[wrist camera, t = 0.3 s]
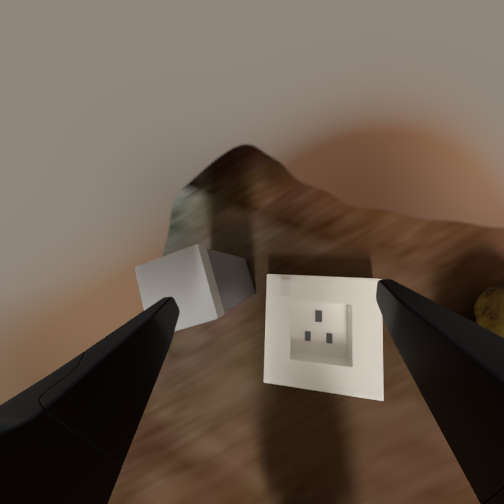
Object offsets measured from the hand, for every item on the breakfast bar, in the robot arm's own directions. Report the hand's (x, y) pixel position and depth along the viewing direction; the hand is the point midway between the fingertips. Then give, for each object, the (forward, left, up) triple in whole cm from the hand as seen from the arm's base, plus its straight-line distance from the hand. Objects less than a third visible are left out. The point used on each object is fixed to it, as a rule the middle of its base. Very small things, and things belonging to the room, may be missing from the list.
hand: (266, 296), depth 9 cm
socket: (-6, -1, -15) cm, 16 cm away
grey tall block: (+3, +5, -15) cm, 16 cm away
